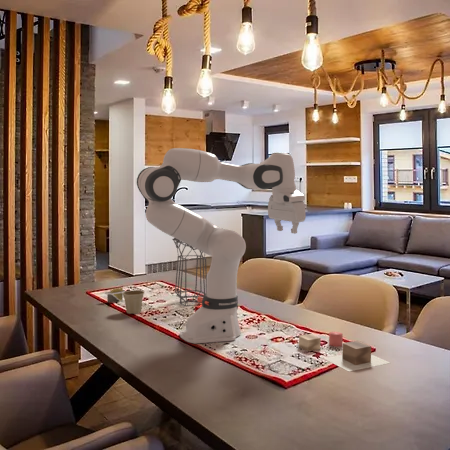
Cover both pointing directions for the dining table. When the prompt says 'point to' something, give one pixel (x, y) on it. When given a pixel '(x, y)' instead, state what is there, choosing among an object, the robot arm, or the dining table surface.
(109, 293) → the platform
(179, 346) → the dining table surface
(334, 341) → the red capsule
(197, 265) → the geometric lantern
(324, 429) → the dining table surface
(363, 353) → the walnut base
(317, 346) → the beech cube
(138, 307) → the flower pot
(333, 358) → the board
